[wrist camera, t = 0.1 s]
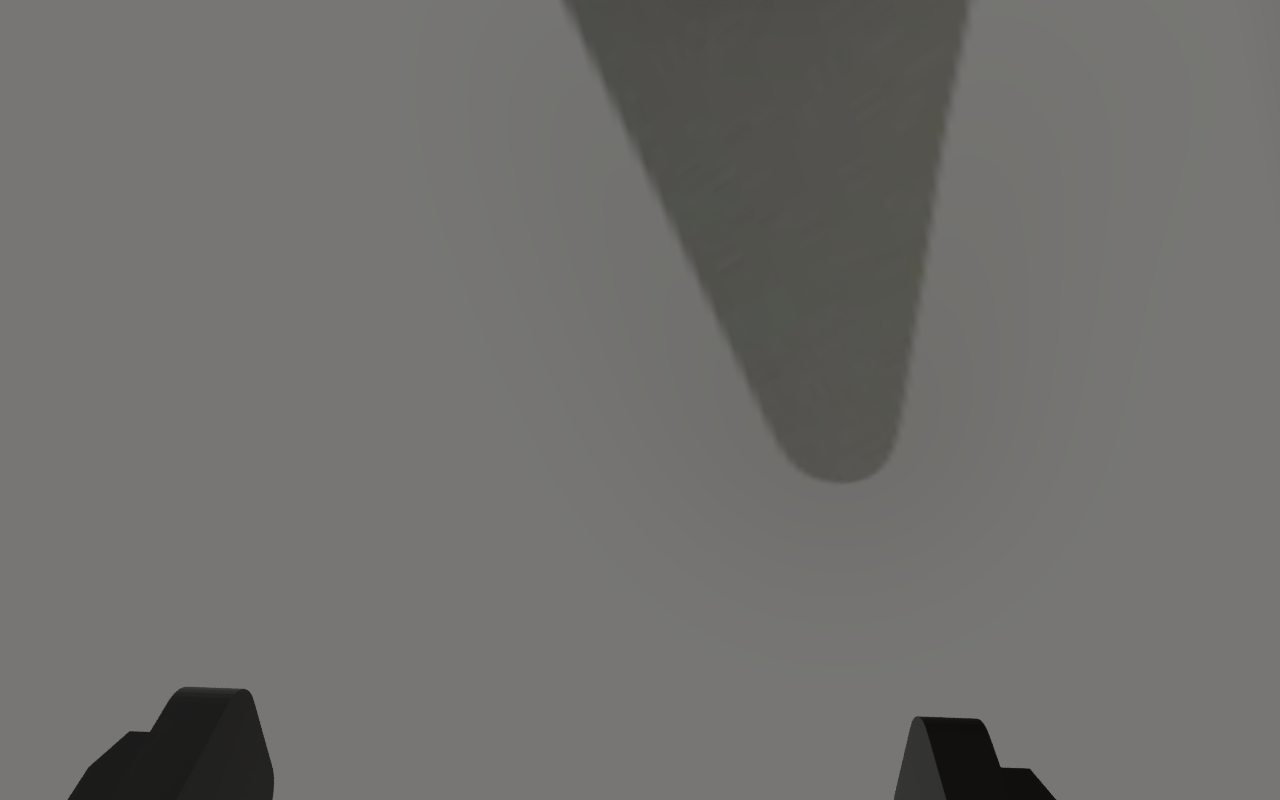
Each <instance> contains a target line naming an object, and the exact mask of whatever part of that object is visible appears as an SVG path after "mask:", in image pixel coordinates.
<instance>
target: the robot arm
mask: <svg viewBox="0 0 1280 800" xmlns="http://www.w3.org/2000/svg"><path fill="white" fill-rule="evenodd" d="M273 789H274V774H273V768H272V764H271V760H270V757H269V753H268V750H267V747H266V743H265V739H264V735H263V732H262V728H261V725H260V721H259V717H258V714H257V710H256V707H255V704H254V700H253V697H252V695H251V693H250V692H249V691H248V690H246V689H232V688H205V687H183V688H181V689H179V690H178V691H176V693H174V695H173V696H172V697H171V699H170V700H169V701H168V703H167V705H166V707H165V708H164V710H163V711H162V713H161V715H160V716H159V718H158V720H157V721H156V723H155V725H154V726H153V728H152V730H151V731H150V732H134V731H130V732H128V733H127V734H126V735H125V736H124V737H123V738H121V739H120V740H119V741H118V742H117V743H116V744H115V745H113V746H112V747H111V748H110V749H109V750H108V751H107V752H106V753H104V754H103V755H102V756H101V757H100V758H99V759H98V760H97V761H95V762H94V763H93V764H92V765H91V766H90V767H89V768H88V769H87V771H86V772H85V774H84V775H83V777H82V778H81V780H80V781H79V783H78V785H77V786H76V788H75V789H74V791H73V792H72V794H71V795H70V797H69V798H68V800H272V799H273V791H274V790H273ZM894 800H1056V799H1055V798H1054V797H1053V796H1052V795H1051V793H1050V792H1049V791H1048V790H1047V788H1046V787H1045V786H1044V785H1043V784H1042V783H1041V781H1040V780H1039V779H1038V778H1037V777H1036V776H1035V774H1034V773H1033V772H1032V771H1031V770H1030V769H1025V768H1001V767H1000V764H999V761H998V759H997V756H996V753H995V750H994V747H993V744H992V742H991V739H990V736H989V734H988V731H987V729H986V727H985V725H984V724H983V722H982V721H981V720H979V719H971V718H943V717H918V716H917V717H915V718H914V719H913V721H912V724H911V727H910V732H909V736H908V740H907V744H906V749H905V753H904V757H903V761H902V766H901V770H900V774H899V779H898V783H897V787H896V791H895V797H894Z"/></svg>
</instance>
